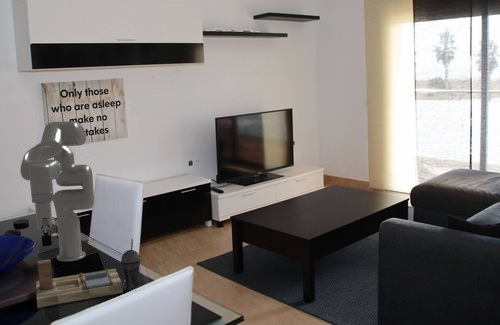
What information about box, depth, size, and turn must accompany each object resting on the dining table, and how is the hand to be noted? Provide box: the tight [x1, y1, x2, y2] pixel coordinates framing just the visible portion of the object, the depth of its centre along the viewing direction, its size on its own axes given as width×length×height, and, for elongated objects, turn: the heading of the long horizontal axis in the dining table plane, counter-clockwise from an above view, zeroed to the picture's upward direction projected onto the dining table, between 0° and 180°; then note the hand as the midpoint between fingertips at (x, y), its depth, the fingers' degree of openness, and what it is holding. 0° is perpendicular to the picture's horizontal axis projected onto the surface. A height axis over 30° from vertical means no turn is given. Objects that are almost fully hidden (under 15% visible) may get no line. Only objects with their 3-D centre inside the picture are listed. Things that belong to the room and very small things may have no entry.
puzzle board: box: [35, 268, 124, 309], centre depth 198 cm, size 18×30×4 cm, turn 113°
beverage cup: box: [120, 237, 141, 292], centre depth 197 cm, size 7×7×20 cm
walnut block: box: [37, 259, 53, 291], centre depth 193 cm, size 4×4×10 cm
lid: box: [85, 270, 110, 288], centre depth 197 cm, size 8×8×2 cm
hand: (46, 241), depth 193 cm, fingers open, 9 cm apart
